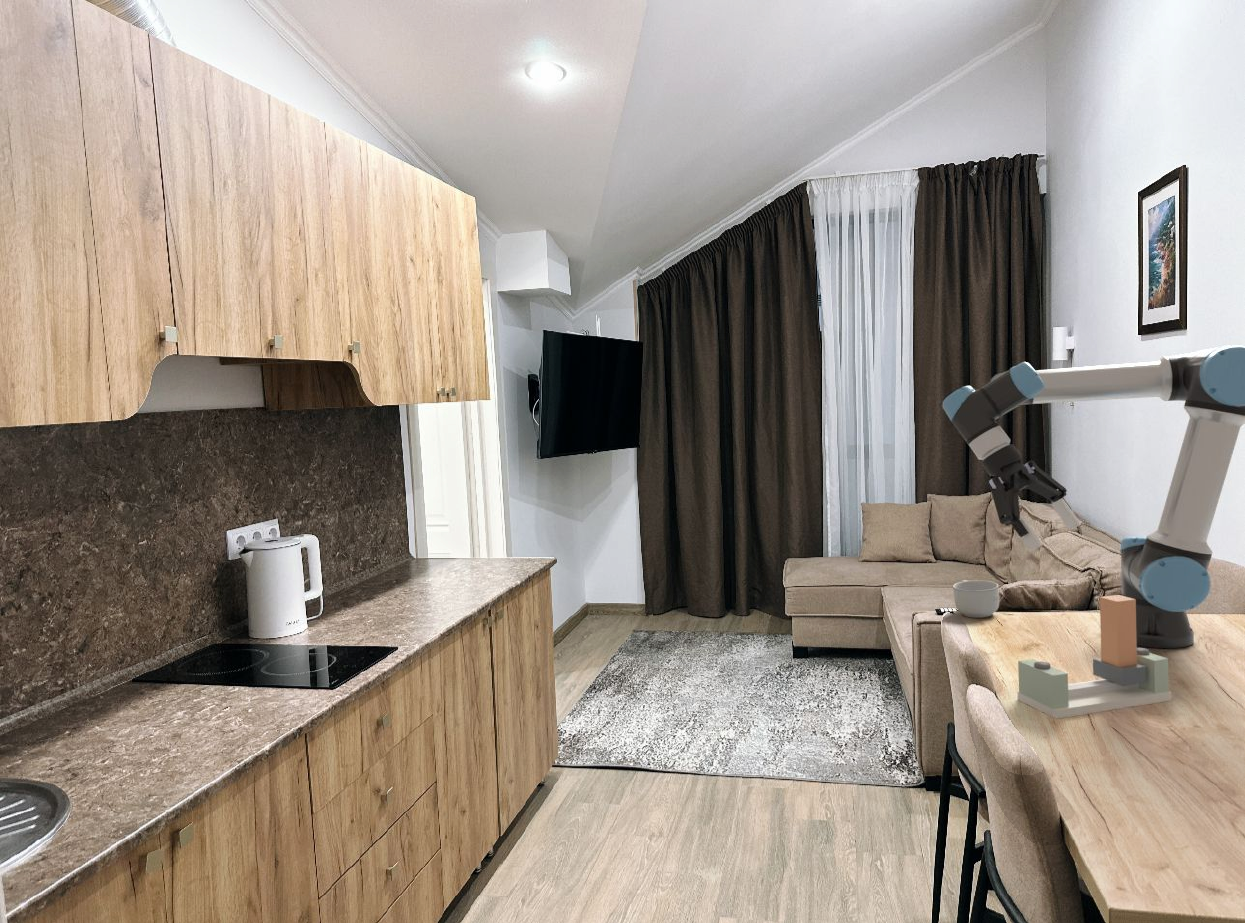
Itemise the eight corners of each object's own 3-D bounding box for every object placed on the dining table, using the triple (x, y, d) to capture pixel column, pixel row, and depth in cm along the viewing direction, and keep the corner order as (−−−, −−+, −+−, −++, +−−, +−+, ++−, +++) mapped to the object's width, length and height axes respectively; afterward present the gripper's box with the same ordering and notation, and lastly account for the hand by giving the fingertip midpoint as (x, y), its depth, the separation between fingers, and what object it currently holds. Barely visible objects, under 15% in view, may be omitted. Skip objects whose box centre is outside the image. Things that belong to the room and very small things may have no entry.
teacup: (1004, 620, 211) (1003, 588, 210) (958, 620, 213) (956, 589, 212) (991, 606, 224) (990, 576, 224) (948, 607, 227) (947, 577, 226)
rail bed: (1127, 683, 163) (1126, 668, 162) (1171, 700, 153) (1171, 684, 153) (1017, 699, 158) (1017, 684, 157) (1056, 718, 148) (1055, 701, 148)
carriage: (1115, 671, 160) (1114, 592, 159) (1146, 682, 153) (1144, 600, 152) (1093, 674, 159) (1091, 595, 158) (1122, 686, 152) (1121, 603, 151)
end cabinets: (1129, 676, 162) (1128, 642, 162) (1168, 691, 153) (1168, 655, 153) (1019, 692, 157) (1018, 657, 156) (1053, 709, 148) (1052, 672, 148)
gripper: (1018, 445, 191) (1077, 526, 184) (947, 476, 179) (1007, 564, 172) (1042, 428, 185) (1104, 511, 178) (970, 459, 173) (1033, 549, 166)
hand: (1057, 537), depth 175 cm, fingers open, 13 cm apart
